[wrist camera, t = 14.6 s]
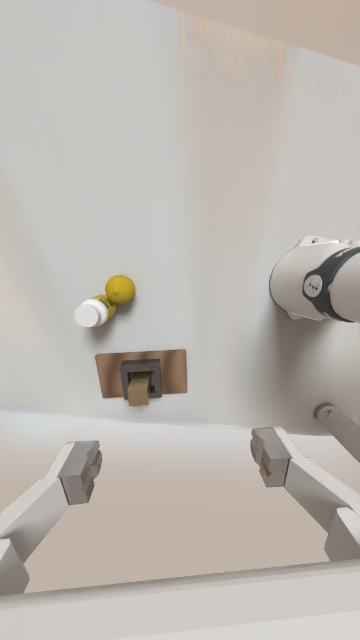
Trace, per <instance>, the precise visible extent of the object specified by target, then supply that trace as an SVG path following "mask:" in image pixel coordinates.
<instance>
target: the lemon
mask: <svg viewBox="0 0 360 640" xmlns="http://www.w3.org/2000/svg"><path fill="white" fill-rule="evenodd" d="M105 292H106V295H107V296H108V298H109V299H110V300H112V301H113V302H116V303H126V302H128V301H130V300H131V299H132V298H133V296H134V294H135V285H134V283H133V281H132V280H131V279H130V278H128V277H126V276H123V275H117V276H113V277H112V278H110V279H109V280H108V282H107V284H106V287H105Z"/></svg>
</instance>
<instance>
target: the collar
mask: <svg viewBox="0 0 360 640" xmlns="http://www.w3.org/2000/svg"><path fill="white" fill-rule="evenodd" d="M145 371H153V374H154V385H152V386H151V392H150V398H159V397H162V379H161V365H160V358H159V359H141V360H124V361H123V362H122V364H121V366H120V373H121V379H122V386H123V392H124V399H125V400H129V399H128V392H127V390H128V387H129V384H130V381H131V378H132V377H131V372H145Z"/></svg>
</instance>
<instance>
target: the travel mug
mask: <svg viewBox="0 0 360 640" xmlns="http://www.w3.org/2000/svg"><path fill="white" fill-rule="evenodd" d="M315 417H316V419H317V420H318V421H319V422H320V423H321V424H322V425H323V426H324V427H325V428H326V429H327V430H328V431H329V432H330V433H331V434H332V435H333V436H334V437H335V438H336V439H337V440H338V441H339V442H340V443H341V444H342V445H343V446H344V447H345V448H346V449H347V450H348V451H349V452H350V454H352V455H353V457H354V458H355V459H356V460H357V461H358V462H360V427H359V426H358V425H356V424H355V423H354V422H353V421H352V420H350V419H349V418H348V417H347V416H346V415H344V414H343V413H342V412H341V411H340V410H338V409H337V408H336V407H335V406H334V405H332V404H330V403H325V404H322V405H320V406H319V407H318V408H317V409H316V410H315Z"/></svg>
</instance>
